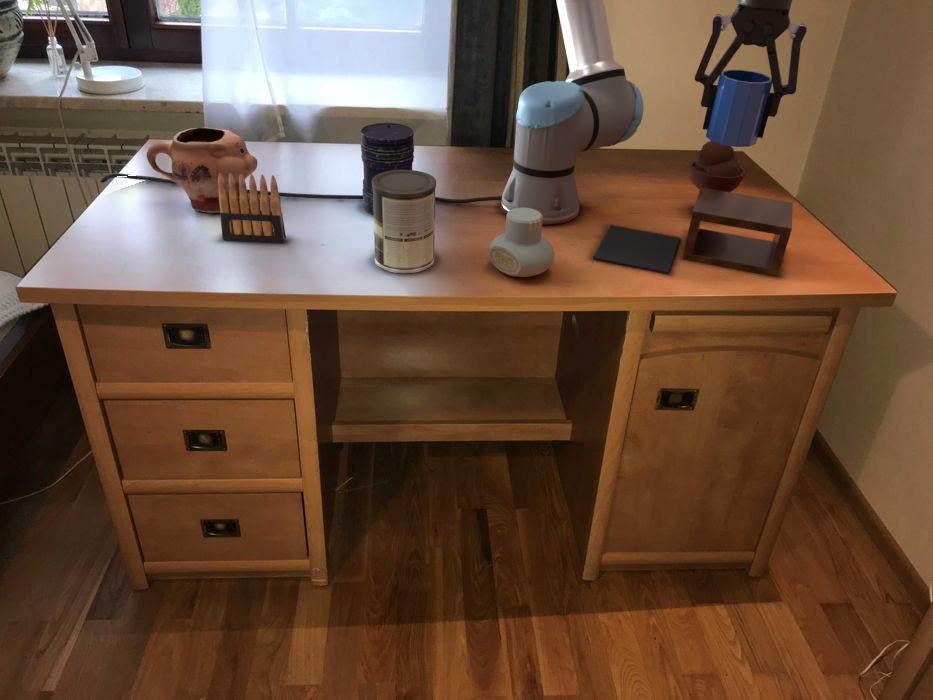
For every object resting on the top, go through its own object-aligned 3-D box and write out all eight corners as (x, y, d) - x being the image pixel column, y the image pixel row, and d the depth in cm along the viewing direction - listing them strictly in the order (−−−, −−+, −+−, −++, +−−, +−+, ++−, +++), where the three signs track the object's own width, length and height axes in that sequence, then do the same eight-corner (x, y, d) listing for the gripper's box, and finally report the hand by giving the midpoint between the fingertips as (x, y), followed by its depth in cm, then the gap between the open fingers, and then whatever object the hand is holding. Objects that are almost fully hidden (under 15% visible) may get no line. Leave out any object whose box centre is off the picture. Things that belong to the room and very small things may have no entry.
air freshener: (560, 273, 127) (567, 218, 121) (527, 289, 122) (533, 232, 116) (512, 251, 133) (517, 197, 128) (479, 265, 128) (482, 209, 123)
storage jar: (412, 218, 143) (412, 140, 135) (360, 216, 143) (357, 138, 134) (415, 198, 151) (415, 123, 143) (366, 196, 151) (363, 121, 143)
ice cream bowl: (738, 227, 146) (757, 151, 138) (679, 220, 147) (695, 144, 139) (733, 206, 155) (751, 133, 146) (677, 200, 156) (692, 127, 148)
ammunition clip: (222, 240, 132) (212, 174, 126) (225, 235, 134) (216, 170, 127) (283, 243, 132) (277, 177, 126) (286, 238, 134) (279, 173, 127)
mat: (592, 259, 132) (593, 257, 132) (610, 226, 144) (610, 224, 143) (668, 274, 128) (668, 272, 128) (679, 239, 140) (679, 237, 140)
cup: (703, 142, 123) (718, 78, 117) (708, 127, 129) (722, 67, 123) (755, 150, 121) (772, 85, 115) (756, 135, 127) (773, 73, 121)
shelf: (682, 258, 133) (692, 211, 128) (690, 232, 143) (700, 187, 138) (777, 277, 129) (792, 228, 124) (779, 248, 139) (792, 202, 134)
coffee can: (361, 260, 128) (358, 180, 120) (403, 241, 135) (402, 164, 127) (405, 280, 123) (405, 198, 115) (447, 259, 130) (449, 180, 122)
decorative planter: (146, 218, 138) (131, 143, 131) (162, 192, 148) (149, 122, 141) (258, 218, 140) (249, 144, 133) (266, 193, 150) (259, 123, 143)
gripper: (696, -26, 111) (665, 128, 124) (848, -11, 106) (799, 148, 119) (700, -32, 117) (671, 115, 130) (844, -18, 112) (799, 134, 125)
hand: (732, 131), depth 124 cm, fingers closed on cup, 8 cm apart
